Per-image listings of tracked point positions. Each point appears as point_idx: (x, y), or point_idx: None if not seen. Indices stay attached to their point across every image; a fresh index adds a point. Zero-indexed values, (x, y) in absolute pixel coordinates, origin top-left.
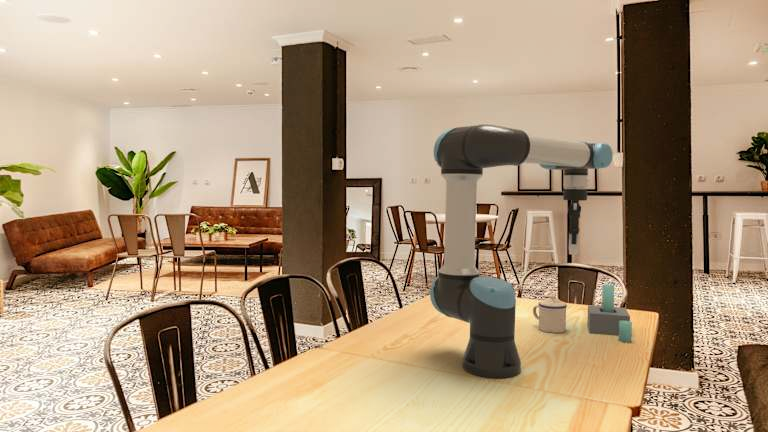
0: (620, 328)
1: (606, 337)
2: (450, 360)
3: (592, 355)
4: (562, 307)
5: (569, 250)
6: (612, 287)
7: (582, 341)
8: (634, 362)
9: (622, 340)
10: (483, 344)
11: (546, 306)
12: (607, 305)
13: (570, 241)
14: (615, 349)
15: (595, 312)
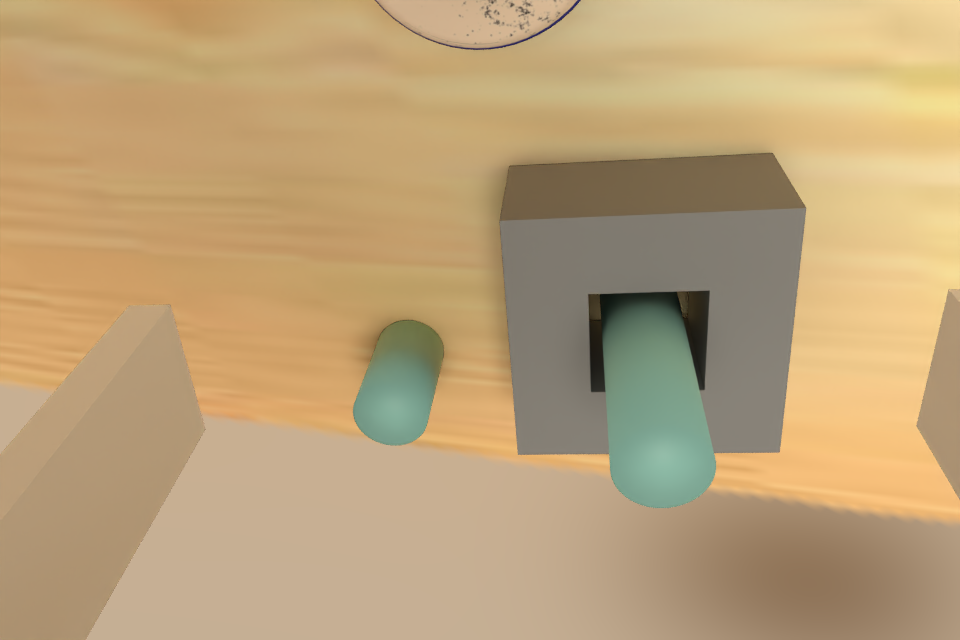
0: (373, 366)
1: (439, 260)
2: None
3: (26, 176)
4: (387, 12)
5: (102, 348)
6: (621, 487)
7: (276, 122)
8: (45, 356)
9: (378, 339)
10: None
11: None
12: (606, 362)
13: (1, 477)
14: (211, 292)
15: (544, 258)
